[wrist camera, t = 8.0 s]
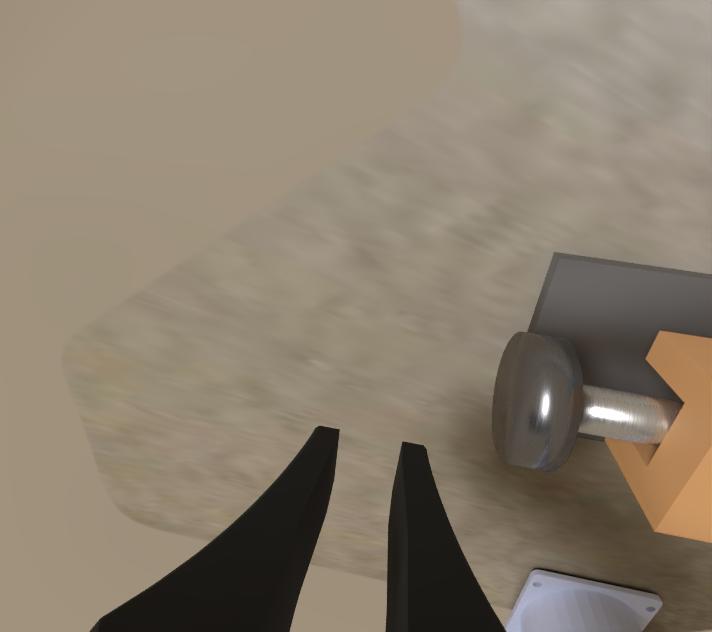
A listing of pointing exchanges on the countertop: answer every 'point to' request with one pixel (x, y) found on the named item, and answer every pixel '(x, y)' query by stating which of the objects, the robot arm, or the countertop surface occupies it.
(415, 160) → the countertop surface
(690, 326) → the bearing block
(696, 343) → the block
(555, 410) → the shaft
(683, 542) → the countertop surface
